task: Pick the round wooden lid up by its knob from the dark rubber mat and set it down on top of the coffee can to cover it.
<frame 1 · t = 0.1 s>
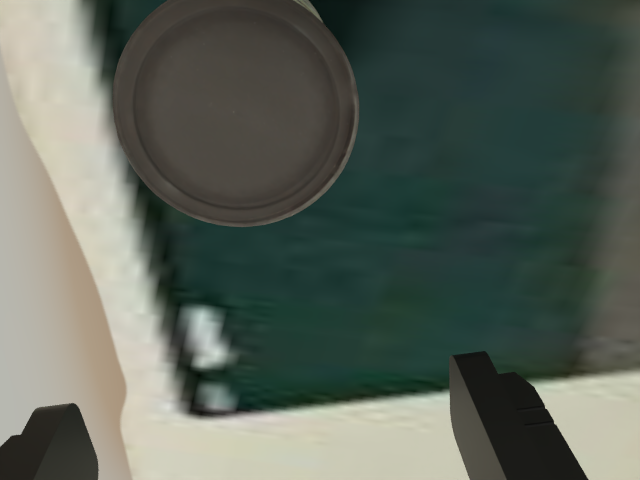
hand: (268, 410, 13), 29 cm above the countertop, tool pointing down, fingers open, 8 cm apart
coffee can: (251, 61, 38), on the countertop
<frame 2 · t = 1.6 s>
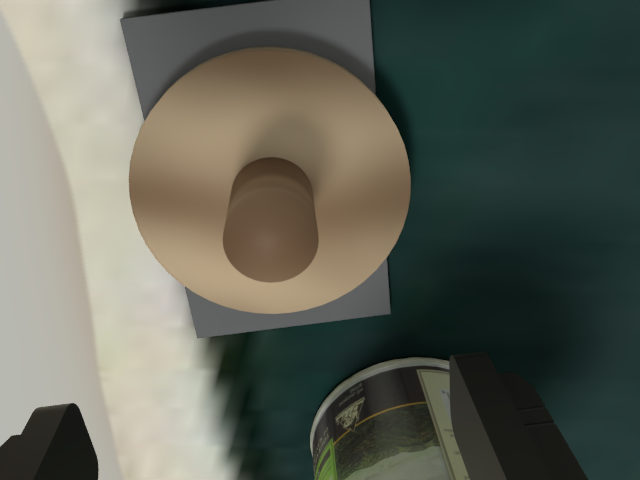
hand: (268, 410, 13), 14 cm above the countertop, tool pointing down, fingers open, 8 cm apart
lid: (272, 185, 25), resting on mat
mat: (272, 181, 25), on the countertop
coffee can: (406, 431, 32), on the countertop
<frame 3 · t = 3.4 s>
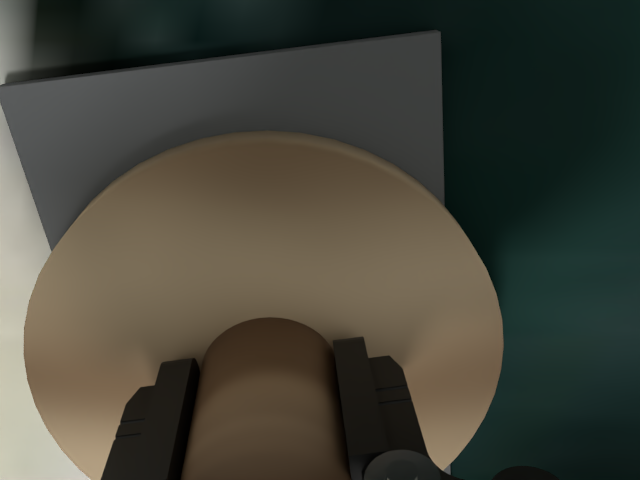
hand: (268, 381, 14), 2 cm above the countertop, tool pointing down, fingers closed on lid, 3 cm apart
lid: (270, 345, 15), resting on mat, touching gripper
mat: (270, 335, 16), on the countertop
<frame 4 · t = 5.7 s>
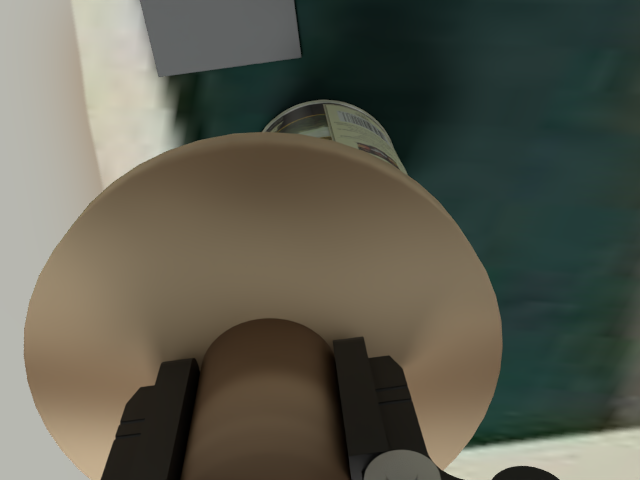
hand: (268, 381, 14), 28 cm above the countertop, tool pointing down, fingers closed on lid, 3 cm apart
lid: (270, 345, 15), point 27 cm above the countertop, touching gripper
coffee can: (323, 171, 42), on the countertop
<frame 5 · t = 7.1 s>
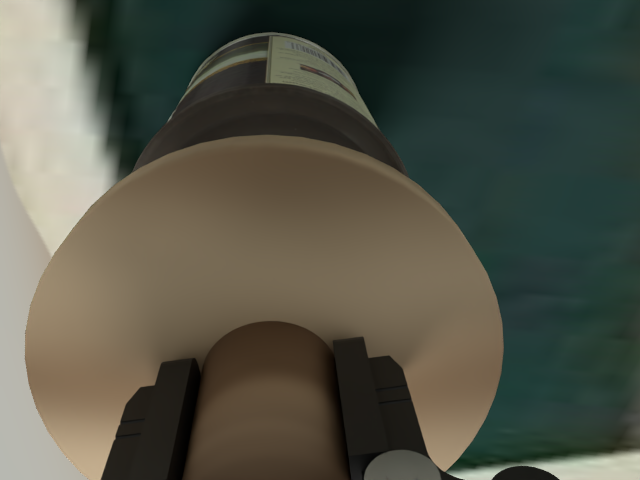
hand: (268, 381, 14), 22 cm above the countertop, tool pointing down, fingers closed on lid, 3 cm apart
lid: (271, 348, 15), point 21 cm above the countertop, touching gripper
coffee can: (274, 127, 34), on the countertop
when the fingers open (17 cm above the countertop, at t = 8.3 s): lid drops 1 cm, resting on coffee can.
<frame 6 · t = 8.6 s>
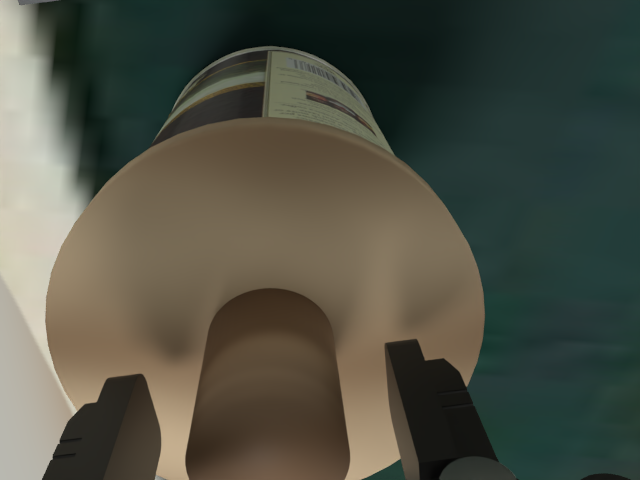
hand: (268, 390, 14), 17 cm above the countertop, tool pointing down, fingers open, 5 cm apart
lid: (271, 317, 16), point 14 cm above the countertop, touching coffee can
coffee can: (274, 155, 29), on the countertop, touching lid
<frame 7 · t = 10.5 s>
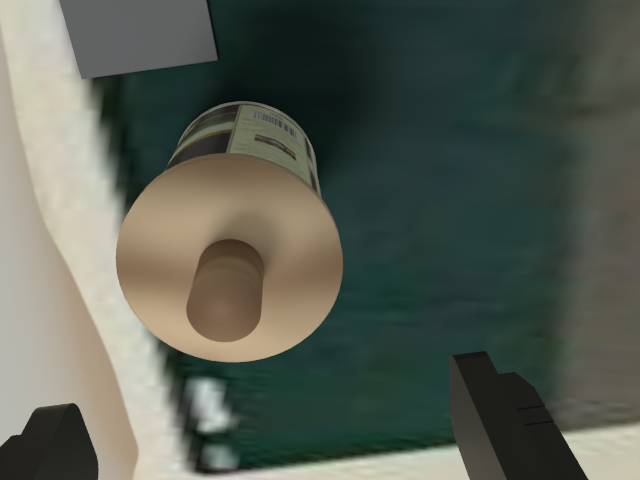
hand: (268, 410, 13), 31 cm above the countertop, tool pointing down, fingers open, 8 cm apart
lid: (232, 258, 31), point 14 cm above the countertop, touching coffee can
coffee can: (246, 171, 44), on the countertop, touching lid
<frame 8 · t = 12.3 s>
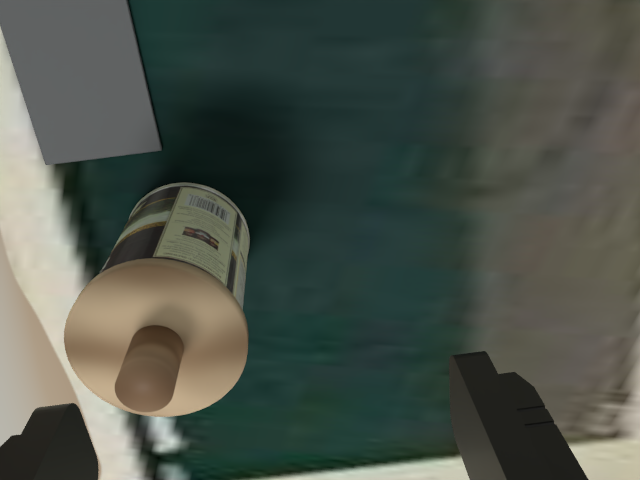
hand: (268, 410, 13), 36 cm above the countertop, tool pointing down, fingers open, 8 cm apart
lid: (160, 335, 38), point 14 cm above the countertop, touching coffee can
mat: (79, 64, 44), on the countertop
coffee can: (189, 238, 51), on the countertop, touching lid
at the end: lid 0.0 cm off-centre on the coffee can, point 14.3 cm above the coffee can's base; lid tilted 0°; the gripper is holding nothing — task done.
